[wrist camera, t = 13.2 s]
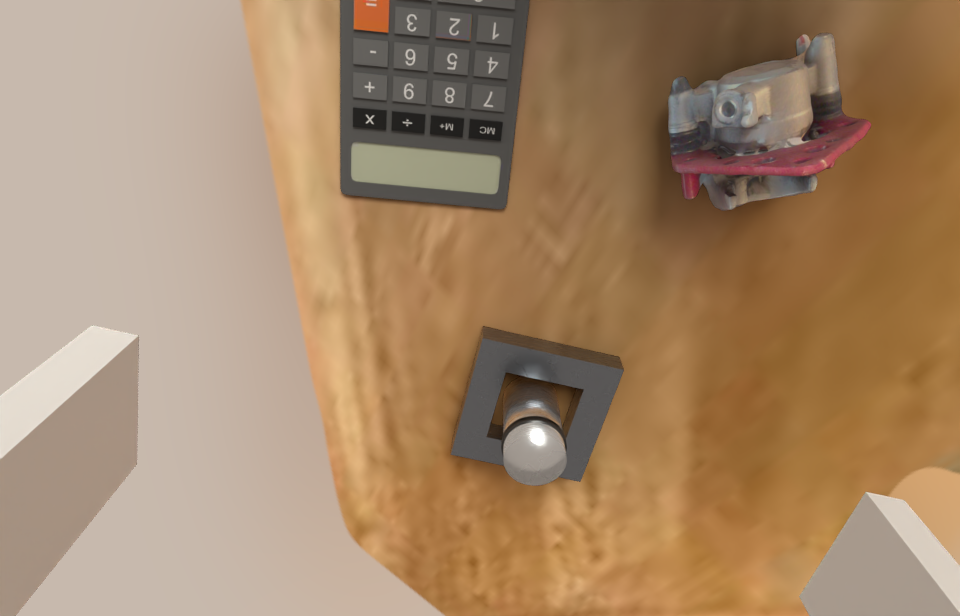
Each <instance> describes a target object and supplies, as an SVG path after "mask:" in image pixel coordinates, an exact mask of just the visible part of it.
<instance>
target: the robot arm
mask: <svg viewBox="0 0 960 616" xmlns="http://www.w3.org/2000/svg"><path fill="white" fill-rule="evenodd" d="M138 358H139V335H134V334H130V333H125V332H121V331H116V330H111V329H107V328H102V327H97V326H93V325H92V326H91V327H89V328H88V329H87V330H85V331H84V332H83V333H81V334H80V335H79V336H78V337H76V338H75V339H74V340H72V341H71V342H70V343H69V344H67V345H66V346H64V347H63V348H62V349H61V350H59V351H58V352H57V353H55V354H54V355H53V356H52V357H50V358H49V359H48V360H46V361H45V362H44V363H42V364H41V365H40V366H38V367H37V368H36V369H34V370H33V371H32V372H31V373H29V374H28V375H27V376H25V377H24V378H23V379H21V380H20V381H19V382H17V383H16V384H15V385H14V386H12V387H11V388H10V389H8V390H7V391H6V392H4V393H3V394H2V395H1V396H0V616H16V614H17V613H18V612H19V611H20V609H21V608H22V607H23V606H24V604H25V603H26V602H27V601H28V600H29V598H30V597H31V596H32V595H33V593H34V592H35V591H36V590H37V588H38V587H39V586H40V585H41V583H42V582H43V581H44V580H45V578H46V577H47V576H48V575H49V573H50V572H51V571H52V570H53V568H54V567H55V566H56V565H57V563H58V562H59V561H60V559H61V558H62V557H63V556H64V554H65V553H66V552H67V551H68V550H69V548H70V547H71V546H72V545H73V543H74V542H75V541H76V540H77V538H78V537H79V536H80V534H81V533H82V532H83V531H84V530H85V528H86V527H87V526H88V525H89V523H90V522H91V521H92V520H93V518H94V517H95V516H96V515H97V513H98V512H99V511H100V510H101V508H102V507H103V506H104V505H105V503H106V502H107V501H108V500H109V498H110V497H111V496H112V495H113V493H114V492H115V491H116V490H117V488H118V487H119V486H120V485H121V483H122V482H123V481H124V480H125V479H126V477H127V476H128V475H129V474H130V472H131V471H132V470H133V468H134V467H135V466H136V465H137V433H138V431H137V430H138V429H137V428H138V427H137V426H138ZM799 597H800V599H801V601H802V602H803V604H804V606H805V608H806V610H807V612H808V614H809V616H960V566H959V565H958V563H957V562H956V561H955V560H954V559H953V557H952V556H951V555H950V554H949V553H948V552H947V551H946V549H945V548H944V547H943V546H942V545H941V543H940V542H939V541H938V540H937V538H936V537H935V536H934V535H933V534H932V533H931V531H930V530H929V529H928V528H927V527H926V525H925V524H924V523H923V522H922V521H921V519H920V518H919V517H918V516H917V515H916V514H915V512H914V511H913V510H912V509H911V508H910V506H909V505H908V504H907V503H906V502H905V501H904V500H901V499H896V498H892V497H887V496H883V495H878V494H873V493H869V492H865V494H864V495H863V497H862V499H861V500H860V502H859V503H858V505H857V506H856V508H855V510H854V511H853V513H852V514H851V516H850V517H849V519H848V521H847V522H846V524H845V525H844V527H843V528H842V530H841V532H840V533H839V535H838V536H837V538H836V539H835V541H834V543H833V544H832V546H831V547H830V549H829V550H828V552H827V554H826V555H825V557H824V558H823V560H822V561H821V563H820V565H819V566H818V568H817V569H816V571H815V572H814V574H813V576H812V577H811V579H810V580H809V582H808V583H807V585H806V587H805V588H804V590H803V591H802V593H801V594H800V596H799Z"/></svg>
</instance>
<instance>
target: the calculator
mask: <svg viewBox="0 0 960 616" xmlns="http://www.w3.org/2000/svg"><path fill="white" fill-rule="evenodd" d="M528 9H529V0H340V37H341V192H342V193H343V194H346V195H354V196H365V197H375V198H386V199H396V200H407V201H417V202H428V203H438V204H449V205H460V206H470V207H481V208H491V209H504V208H505V207H506V204H507V196H508V188H509V179H510V170H511V161H512V152H513V143H514V134H515V125H516V116H517V107H518V98H519V90H520V81H521V72H522V63H523V54H524V45H525V36H526V27H527V18H528Z"/></svg>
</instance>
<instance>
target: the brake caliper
mask: <svg viewBox="0 0 960 616" xmlns="http://www.w3.org/2000/svg"><path fill="white" fill-rule="evenodd" d="M796 51H797V56H796V57H793V58H790V59H786V60H772V61H768V62H764V63H760V64H757V65H753V66H748V67H744V68H741V69H738V70H736V71H733V72H730V73H728V74H726V75H724V76H723V77H722V78H721V79H720V80H717V81H716V80H708V81H705V82H703V83H702V84H701V85H699V86H698V87H697V88H695V89H692V88H691V87H690V85H689V83H688V81H687V79H686V78H685V77H683V76H680V77H678V78H676V79H675V80H674V81H673V83H672V88H671V92H670V95H669V98H668V108H669V119H668V131H669V136H670V147H671V160H672V168H673V170H674V171H675V172H678V173H681V182H682V191H683V196H684V198H685V199H693V198H695V197H696V196H697V195H698V192H699V189H700V187H701V185H702V183H703V185H704V186H705V187H706V189H707V191H708V194H709V197H710V200H711V202H712V204H713V205H714V206H715V207H716V208H718V209H720V210H722V211H725V210H732V209H734V208H735V207H738V206H741V205H743V204H745V203H747V202H751V201H758V200H764V199H773V198H779V197H785V196H794V195H798V194H802V193H811V192H813V191H814V190H815V189H816V186H817V176H816V175H815V174H816V173H819V172H821V171H823V170H824V169H829V168H832V167H833V166H834V164H835V159H837V158H838V157H839V156H840V155H841V154H843V153H844V152H845V151H848V150H850V149H851V148H852V147H853V146H854V145H855V143H857V142H858V141H860V140H861V139H862V138H863V137H864V136H865V135H866V134H867V132H868V130H869V129H870V127H871V123H870V122H869V121H867V120H865V119H856V118H850V117H847V116H846V115H845V114H844V113H843V112H842V109H841V104H842V99H841V93H840V87H839V82H838V69H837V61H836V53H835V41H834V37H833V35H832V34H831V33H820V34H818V35H816V36H815V37H814V38H813V40H812V42H811V41H810V39H809V37H808V36H807V35H805V34H803V35H801V36H800V37H799V38H798V39H797V41H796Z"/></svg>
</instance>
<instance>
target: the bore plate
mask: <svg viewBox="0 0 960 616" xmlns="http://www.w3.org/2000/svg"><path fill="white" fill-rule="evenodd" d="M623 371H624V369H623V366H622V363H621V360H620V358H619V357H617V356H612V355H608V354H603V353H599V352H595V351H590V350H586V349H581V348H577V347H573V346H568V345H564V344H559V343H555V342H550V341H546V340H542V339H537V338H533V337H528V336H524V335H520V334H515V333H511V332H506V331H502V330H498V329H493V328H489V327H484V326H483V329H482V332H481V336H480V340H479V343H478V347H477V351H476V354H475V358H474V362H473V365H472V369H471V373H470V376H469V380H468V384H467V387H466V391H465V395H464V398H463V402H462V406H461V409H460V413H459V417H458V420H457V424H456V428H455V431H454V435H453V439H452V447H451V455H455V456H460V457H465V458H470V459H474V460H479V461H484V462H489V463H493V464H498V465H503V466H504V461H503V455H502V451H501V440H502V436H503V426H500V425H496V424H491V420H492V417H493V413H494V410H495V407H496V403H497V400H498V397H499V393H500V390H501V387H502V383H503V380H504V377H505V373H506V372H507V373H512V374H516V375H521V376H525V377H530V378H534V379H539V380H543V381H548V382H552V383H557V384H561V385H566V386H570V387H575V388H576V391H575V394H574V396H573V399H572V402H571V405H570V408H569V410H568V413H567V416H566V419H565V421H564V424H563V427H562V430H563V432H564V434H565V438H566V443H567V451H566V457H567V462H566V466H565V469H564V471H563V472H562V474H561V475H560V476H559V477H560V478H565V479H570V480H574V481H579V482H580V481H581V479H582V476H583V474H584V471H585V468H586V466H587V463H588V461H589V458H590V456H591V453H592V451H593V448H594V445H595V443H596V440H597V438H598V435H599V433H600V430H601V428H602V425H603V422H604V420H605V417H606V415H607V412H608V410H609V407H610V404H611V402H612V399H613V397H614V394H615V392H616V389H617V387H618V384H619V381H620V379H621V376H622V374H623Z"/></svg>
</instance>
